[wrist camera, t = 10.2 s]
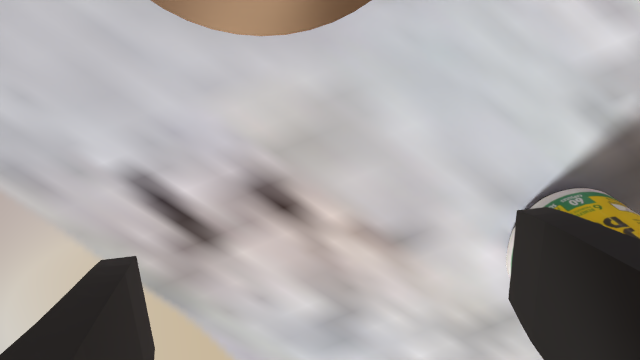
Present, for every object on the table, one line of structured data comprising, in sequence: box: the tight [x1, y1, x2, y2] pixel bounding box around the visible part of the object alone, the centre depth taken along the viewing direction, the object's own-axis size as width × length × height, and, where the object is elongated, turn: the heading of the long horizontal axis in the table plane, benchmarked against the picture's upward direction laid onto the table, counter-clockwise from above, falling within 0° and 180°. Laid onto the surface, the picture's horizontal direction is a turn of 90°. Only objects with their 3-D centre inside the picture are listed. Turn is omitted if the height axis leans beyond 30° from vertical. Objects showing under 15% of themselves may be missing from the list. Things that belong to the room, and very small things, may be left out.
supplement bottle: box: [506, 188, 640, 278], centre depth 20 cm, size 5×5×10 cm
